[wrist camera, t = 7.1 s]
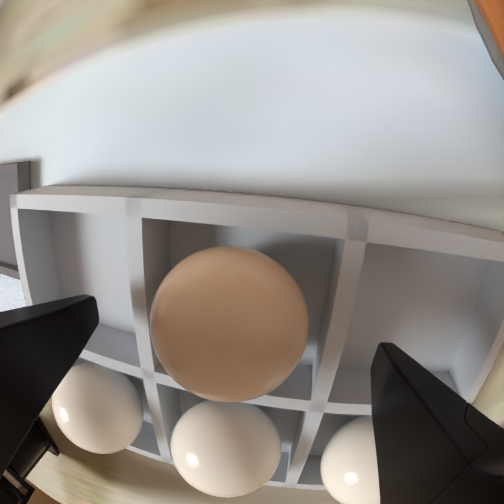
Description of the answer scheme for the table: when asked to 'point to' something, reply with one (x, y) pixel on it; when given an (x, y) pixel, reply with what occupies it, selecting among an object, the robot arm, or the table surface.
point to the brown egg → (229, 323)
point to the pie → (491, 28)
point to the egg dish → (4, 183)
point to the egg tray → (305, 274)
